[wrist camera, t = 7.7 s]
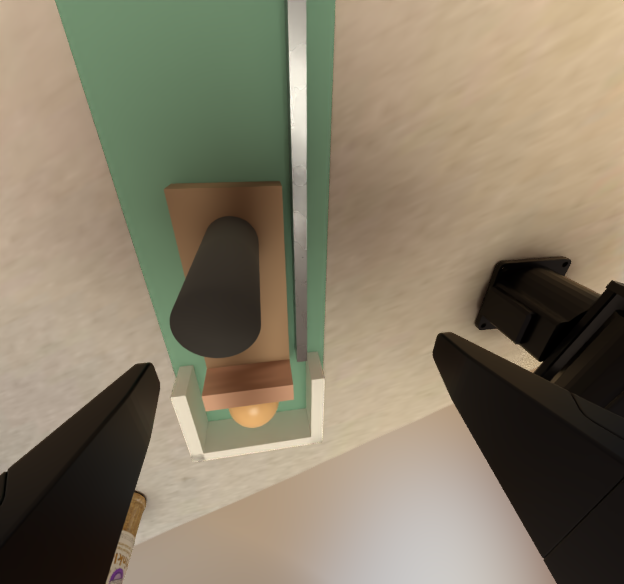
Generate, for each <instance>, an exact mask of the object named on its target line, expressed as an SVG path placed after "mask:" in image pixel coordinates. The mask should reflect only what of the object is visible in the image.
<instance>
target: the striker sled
mask: <svg viewBox="0 0 624 584" xmlns="http://www.w3.org/2000/svg"><path fill="white" fill-rule="evenodd" d="M164 193H165V197H166V201H167V205H168V209H169V213H170V218H171V222H172V226H173V230H174V234H175V238H176V242H177V247H178V251H179V255H180V259H181V263H182V267H183V271H184V276H185V281H184V283H183V285H182V288H181V290H180V292H179V295H178V297H177V299H176V302H175V304H174V306H173V309H172V311H171V314H170V329H171V332H172V334H173V336H174V338H175V339H176V340H177V342H178V343H179V344H180V345H181V346H183V347H184V348H185V349H187V350H188V351H190V352H192V353H194V354H197V355H200V356H203V357H204V359H205V363H206V367H207V371H206V376H205V381H204V387H203V392H202V400H203V403H204V407H205V411H213V410H220V409H228V408H235V407H243V406H250V405H257V404H265V403H272V402H280V401H287V400H294V391H293V380H292V373H291V366H290V358H289V335H288V313H287V290H286V267H285V244H284V222H283V199H282V185H281V183H280V181H260V182H218V183H176V184H170V185H168V186H167V187H166V188H165V189H164Z"/></svg>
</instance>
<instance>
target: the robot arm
mask: <svg viewBox="0 0 624 584" xmlns="http://www.w3.org/2000/svg"><path fill="white" fill-rule="evenodd" d="M570 264H571V260H570V259H568V258H566V257H554V258H540V259H526V260H512V261H502V262H500V263H498V264H497V266H496V267H495V270H494V273H493V276H492V279H491V281H490V284H489V287H488V290H487V293H486V295H485V298H484V301H483V304H482V306H481V309H480V312H479V315H478V318H477V320H476V323H475V326H476V327H477V328H478V329H479V330H486V329H495V328H497V329H499V330H500V331H501V332H502V333H503V334H504V335H506V336H507V337H508V338H509V339H510V340H511V341H512V342H514V343H515V344H519V345H520V346H521V347H523V348H524V349H525V350H526V351H527V352H528V353H530V354H531V355H532V356H533V357H534V358H535V359H537V360H538V361H539V362H542V361H543V362H542V364H541V365H540V366H539V367H538V368H537V369H536V371H535V372H534V373H532V372H530V371H528V370H526V369H524V368H522V367H520V366H518V365H516V364H514V363H512V362H510V361H508V360H506V359H504V358H502V357H500V356H498V355H496V354H494V353H492V352H490V351H488V350H486V349H484V348H482V347H480V346H478V345H476V344H474V343H472V342H470V341H468V340H466V339H464V338H462V337H460V336H458V335H456V334H454V333H452V332H445V333H439V334H438V335H437V338H436V342H435V345H434V349H433V358H434V361H435V363H436V365H437V368H438V370H439V372H440V374H441V377H442V379H443V381H444V383H445V386H446V388H447V390H448V392H449V395H450V397H451V399H452V401H453V402H454V404H455V406H456V408H457V409H458V411H459V413H460V414H461V416H462V418H463V420H464V422H465V424H466V425H467V427H468V428H469V431H470V432H471V434H472V436H473V438H474V439H475V441H476V443H477V445H478V446H479V448H480V450H481V452H482V453H483V455H484V457H485V458H486V460H487V462H488V464H489V466H490V467H491V469H492V470H493V472H494V474H495V476H496V478H497V479H498V481H499V483H500V484H501V486H502V488H503V490H504V492H505V493H506V495H507V497H508V498H509V500H510V502H511V504H512V505H513V507H514V509H515V511H516V513H517V514H518V516H519V518H520V519H521V521H522V523H523V525H524V527H525V528H526V530H527V532H528V534H529V535H530V537H531V539H532V541H533V542H534V544H535V546H536V547H537V549H538V551H539V553H540V554H541V556H542V557H543V558H544V562H545V564H546V565H547V567H548V569H549V571H550V572H551V574H552V576H553V578H554V579H555V581H556V583H557V584H624V284H623V283H620V282H616V281H613V280H612V281H611V282H610V283H609V284H608V285H607V286H606V288H607V289H606V290H605V291H604V292H603V294H602V295H600V294H598V293H596V292H594V291H592V290H590V289H589V288H587V287H585V286H583V285H581V284H579V283H577V282H575V281H573V280H571V279H569V278H567V277H565V274H566V272H567V270H568V268H569V266H570ZM503 267H504V268H503ZM502 268H503V269H502ZM159 392H160V382H159V379H158V376H157V374H156V371H155V368H154V366H153V364H152V363H149V362H148V363H138V364H135V365H134V366H133V367H131V368H130V369H129V370H128V371H127V372H125V373H124V374H123V375H122V376H120V377H119V378H118V379H117V380H116V381H114V382H113V383H112V384H111V385H109V386H108V387H107V388H106V389H105V390H103V391H102V392H101V393H100V394H99V395H97V396H96V397H95V398H94V399H92V400H91V401H90V402H89V403H88V404H86V405H85V406H84V407H83V408H82V409H80V410H79V411H78V412H77V413H75V414H74V415H73V416H72V417H71V418H69V419H68V420H67V421H66V422H64V423H63V424H62V425H61V426H60V427H58V428H57V429H56V430H55V431H54V432H52V433H51V434H50V435H49V436H47V437H46V438H45V439H44V440H43V441H41V442H40V443H39V444H38V445H36V446H35V447H34V448H33V449H32V450H30V451H29V452H28V453H27V454H26V455H24V456H23V457H22V458H21V459H19V460H18V461H17V462H16V463H15V464H13V465H12V466H11V467H10V468H9V469H8V471H7V472H4V473H2V474H1V475H0V584H106V581H107V578H108V574H109V571H110V568H111V565H112V562H113V558H114V555H115V552H116V549H117V545H118V542H119V539H120V536H121V533H122V529H123V526H124V523H125V520H126V517H127V513H128V510H129V507H130V504H131V500H132V497H133V494H134V491H135V488H136V484H137V481H138V478H139V475H140V472H141V468H142V465H143V462H144V459H145V455H146V452H147V449H148V446H149V442H150V438H151V433H152V429H153V423H154V418H155V413H156V408H157V402H158V397H159Z"/></svg>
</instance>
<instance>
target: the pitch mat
mask: <svg viewBox="0 0 624 584" xmlns="http://www.w3.org/2000/svg"><path fill="white" fill-rule="evenodd" d="M55 2H56V5H57V8H58V11H59V14H60V17H61V21H62V24H63V27H64V30H65V33H66V36H67V39H68V42H69V45H70V49H71V52H72V55H73V58H74V61H75V64H76V67H77V70H78V73H79V77H80V80H81V83H82V86H83V89H84V92H85V95H86V98H87V102H88V105H89V108H90V111H91V114H92V117H93V120H94V123H95V126H96V130H97V133H98V136H99V139H100V142H101V145H102V148H103V151H104V154H105V158H106V161H107V164H108V167H109V170H110V173H111V176H112V179H113V182H114V186H115V189H116V192H117V195H118V198H119V201H120V204H121V207H122V210H123V214H124V217H125V220H126V223H127V226H128V229H129V232H130V235H131V239H132V242H133V245H134V248H135V251H136V254H137V257H138V260H139V263H140V267H141V270H142V273H143V276H144V279H145V282H146V285H147V288H148V291H149V295H150V298H151V301H152V304H153V307H154V310H155V313H156V316H157V319H158V323H159V326H160V329H161V332H162V335H163V338H164V341H165V344H166V347H167V351H168V354H169V357H170V360H171V363H172V366H173V369H174V372H175V375H176V377H177V374H178V370H179V367H181V366H190V365H193V367H194V371H195V375H196V378H197V382H198V386H199V389H200V393H201V397H202V392H203V387H204V381H205V376H206V371H207V367H206V363H205V359H204V357H203V356H200V355H197V354H194V353H192V352H190V351H188V350H187V349H185V348H184V347H183V346H181V345H180V344H179V343H178V342H177V340H176V339H175V338H174V336H173V334H172V332H171V329H170V314H171V311H172V309H173V306H174V304H175V302H176V299H177V297H178V295H179V292H180V290H181V288H182V285H183V283H184V281H185V276H184V271H183V267H182V263H181V259H180V255H179V251H178V247H177V242H176V238H175V234H174V230H173V226H172V222H171V218H170V213H169V209H168V205H167V201H166V197H165V193H164V189H165V188H166V187H167V186H168V185H170V184H176V183H218V182H260V181H280V183H281V185H282V199H283V222H284V244H285V267H286V290H287V313H288V335H289V358H290V366H291V373H292V380H293V391H294V400H287V401H280V402H279V405H278V408H277V411H276V412H282V411H289V410H296V409H304V408H306V361H303V362H297V359H296V353H295V337H294V304H293V272H292V239H291V207H290V175H289V142H288V110H287V78H286V45H285V13H284V0H55ZM334 24H335V0H306V65H307V353H308V352H317V351H318V355H319V359H320V362H321V366H322V370H323V348H324V318H325V289H326V259H327V230H328V201H329V171H330V142H331V112H332V83H333V53H334ZM203 404H204V403H203ZM204 408H205V407H204ZM206 415H207V419H208V422H210V421H217V420H224V419H231V418H232V416H231V414H230V412H229V409H220V410H213V411H206Z"/></svg>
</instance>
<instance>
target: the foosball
mask: <svg viewBox="0 0 624 584" xmlns="http://www.w3.org/2000/svg"><path fill="white" fill-rule="evenodd" d="M278 405H279V402H272V403H265V404H257V405H250V406H243V407H235V408H228V409H229V412H230V414H231V416H232V418H233V419H234V420H235V421H236V422H237V423H238V424H240V425H241V426H244V427H248V428H256V427H260V426H262V425H264V424H266V423H267V422H269V421H270V420H271V419H272V418H273V416H274V415H275V413H276V411H277V408H278Z"/></svg>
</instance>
